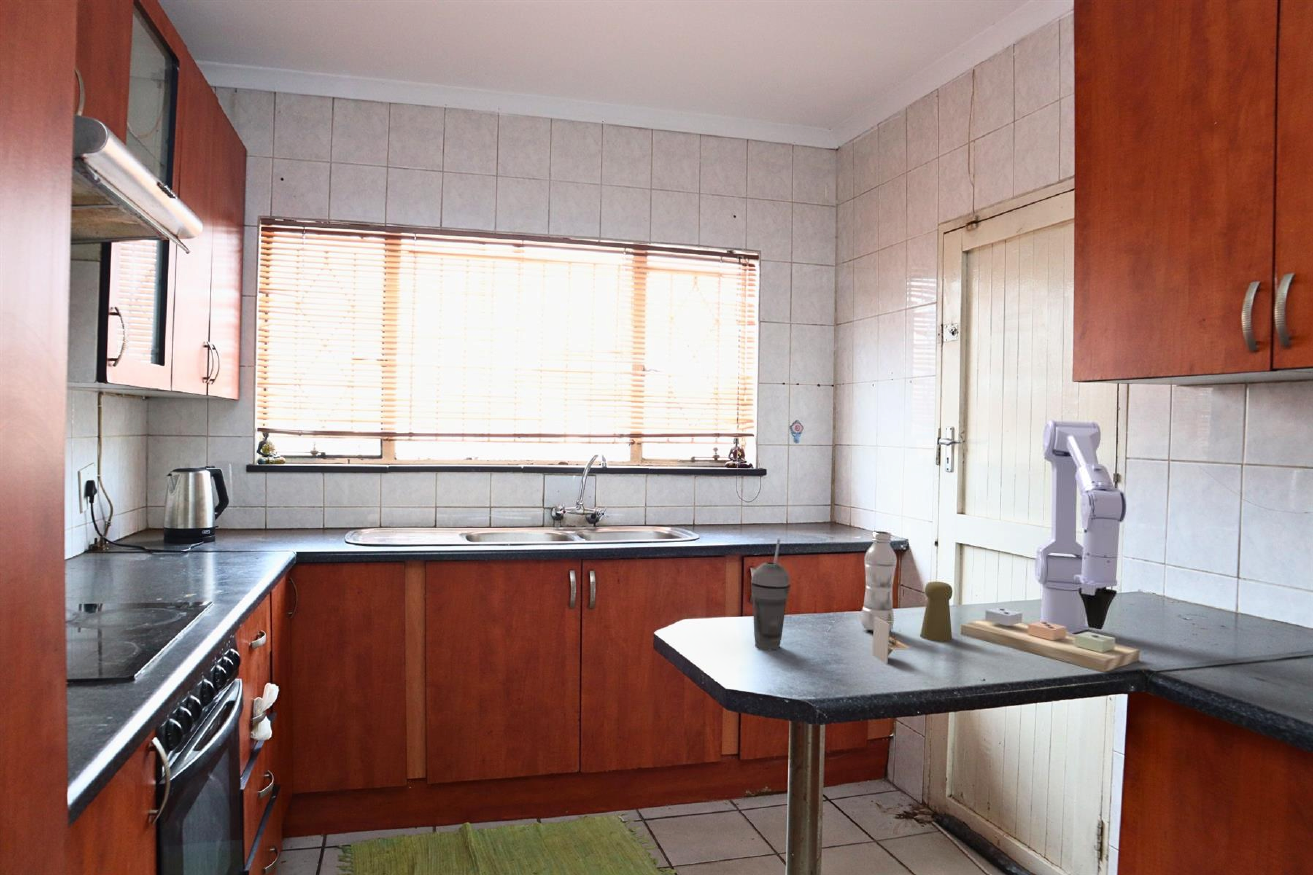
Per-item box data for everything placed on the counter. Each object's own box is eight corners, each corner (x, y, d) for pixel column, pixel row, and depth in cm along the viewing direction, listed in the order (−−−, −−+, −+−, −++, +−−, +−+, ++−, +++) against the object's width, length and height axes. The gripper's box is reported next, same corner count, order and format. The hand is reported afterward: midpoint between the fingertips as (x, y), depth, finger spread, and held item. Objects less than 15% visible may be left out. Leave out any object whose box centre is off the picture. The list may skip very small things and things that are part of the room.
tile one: (1087, 642, 158) (1087, 630, 158) (1114, 648, 154) (1115, 637, 154) (1074, 645, 155) (1074, 634, 154) (1102, 652, 151) (1102, 640, 151)
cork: (954, 642, 161) (957, 586, 161) (921, 639, 162) (924, 584, 162) (949, 635, 167) (952, 580, 167) (918, 632, 168) (921, 578, 168)
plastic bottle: (857, 632, 166) (863, 532, 165) (862, 625, 172) (867, 529, 171) (891, 637, 163) (896, 536, 162) (895, 629, 169) (900, 532, 169)
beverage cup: (755, 638, 158) (760, 533, 157) (792, 645, 154) (797, 538, 154) (741, 647, 151) (747, 538, 150) (780, 654, 148) (785, 542, 147)
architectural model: (889, 656, 151) (891, 616, 151) (907, 668, 144) (910, 626, 144) (871, 657, 151) (873, 616, 150) (889, 669, 144) (891, 626, 144)
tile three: (1040, 630, 165) (1041, 620, 165) (1065, 637, 161) (1066, 625, 161) (1027, 634, 162) (1028, 623, 162) (1052, 640, 158) (1053, 629, 158)
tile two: (998, 617, 172) (999, 606, 172) (1021, 622, 168) (1022, 612, 168) (985, 619, 169) (985, 609, 169) (1008, 625, 165) (1009, 614, 165)
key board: (998, 625, 177) (998, 616, 177) (1138, 660, 154) (1139, 649, 154) (960, 634, 168) (961, 624, 168) (1104, 671, 146) (1104, 660, 146)
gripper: (1086, 548, 162) (1082, 617, 162) (1065, 555, 151) (1060, 630, 151) (1127, 553, 157) (1122, 624, 158) (1108, 561, 146) (1103, 638, 147)
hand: (1095, 627), depth 154 cm, fingers closed
